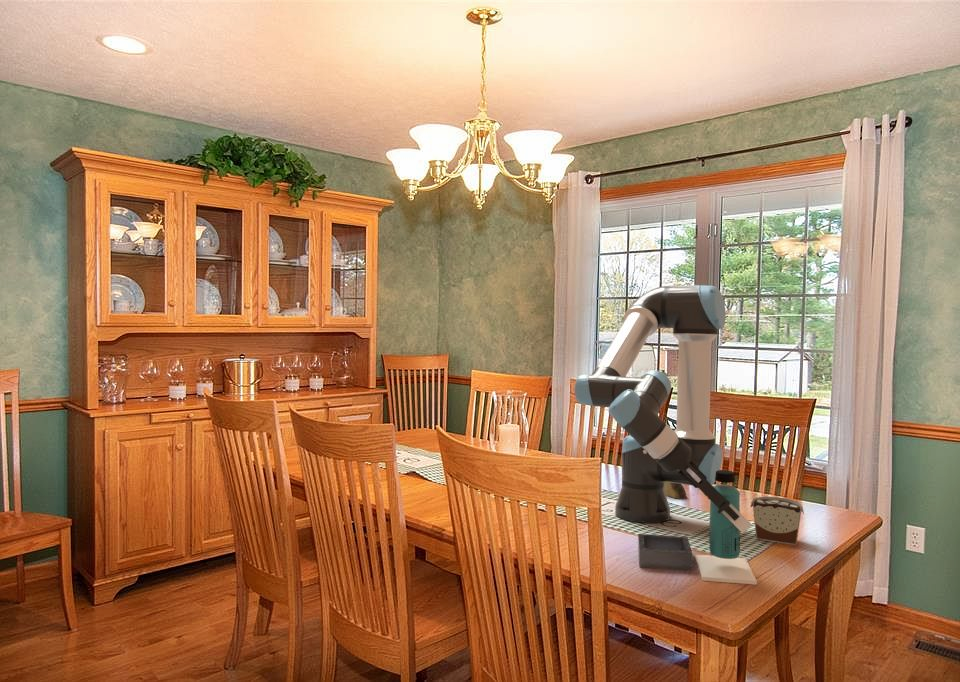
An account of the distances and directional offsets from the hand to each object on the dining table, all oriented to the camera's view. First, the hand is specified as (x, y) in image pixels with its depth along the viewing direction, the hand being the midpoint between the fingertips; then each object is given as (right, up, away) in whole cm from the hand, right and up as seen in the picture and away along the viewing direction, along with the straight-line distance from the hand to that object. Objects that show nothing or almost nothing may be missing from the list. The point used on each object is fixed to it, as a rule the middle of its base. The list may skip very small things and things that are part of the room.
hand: (741, 523), depth 152 cm
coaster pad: (-4, -11, +1) cm, 11 cm away
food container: (+18, -10, +23) cm, 31 cm away
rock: (+2, -9, +66) cm, 66 cm away
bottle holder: (-15, -10, +7) cm, 20 cm away
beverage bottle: (-4, -9, +1) cm, 9 cm away
